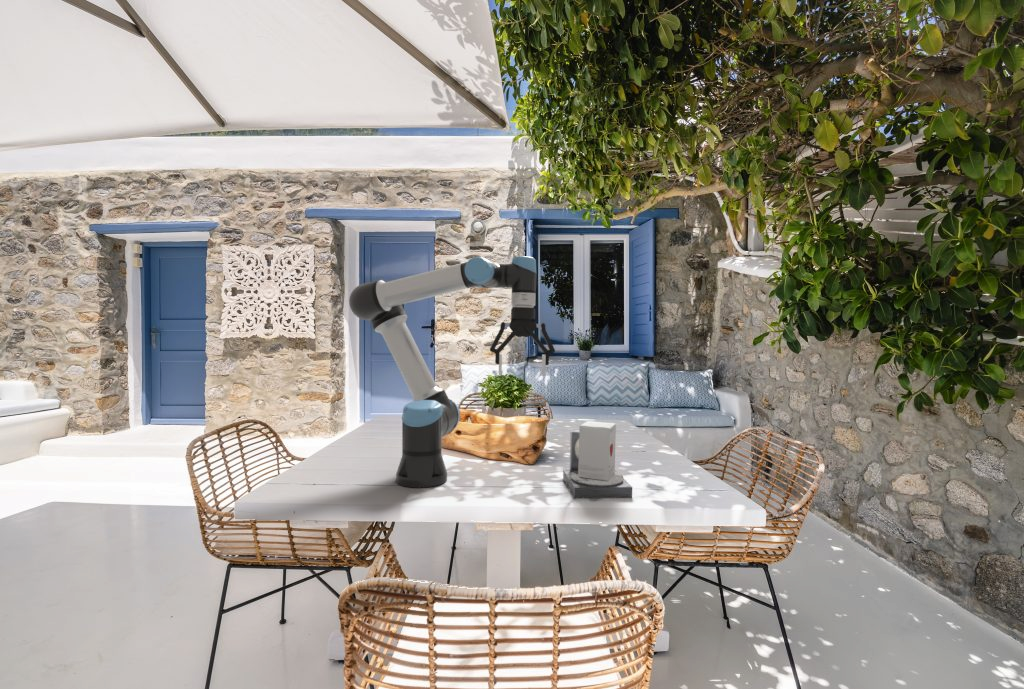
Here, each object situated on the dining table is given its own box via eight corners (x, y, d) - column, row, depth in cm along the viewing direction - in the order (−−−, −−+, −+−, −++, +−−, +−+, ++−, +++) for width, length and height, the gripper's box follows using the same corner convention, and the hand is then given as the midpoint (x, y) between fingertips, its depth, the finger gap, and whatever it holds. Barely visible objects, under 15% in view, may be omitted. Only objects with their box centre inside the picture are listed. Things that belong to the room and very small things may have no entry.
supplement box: (608, 481, 146) (609, 428, 145) (577, 477, 150) (578, 425, 149) (615, 473, 154) (616, 422, 154) (585, 469, 158) (586, 420, 157)
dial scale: (574, 498, 143) (575, 444, 143) (563, 479, 161) (564, 430, 161) (632, 497, 145) (633, 443, 144) (614, 478, 163) (615, 430, 162)
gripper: (483, 305, 159) (481, 375, 159) (565, 307, 160) (563, 377, 161) (482, 306, 166) (481, 373, 167) (561, 308, 168) (559, 374, 169)
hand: (521, 375), depth 164 cm, fingers open, 13 cm apart
